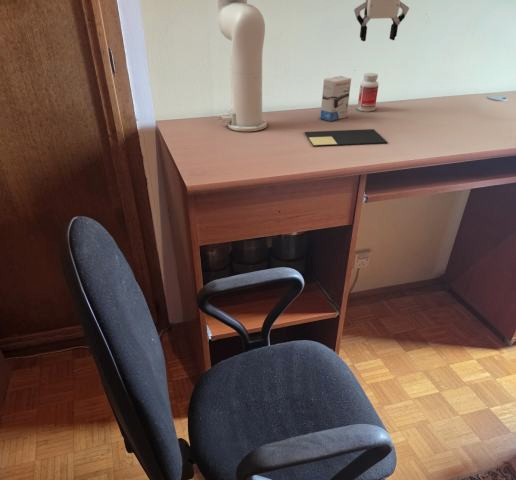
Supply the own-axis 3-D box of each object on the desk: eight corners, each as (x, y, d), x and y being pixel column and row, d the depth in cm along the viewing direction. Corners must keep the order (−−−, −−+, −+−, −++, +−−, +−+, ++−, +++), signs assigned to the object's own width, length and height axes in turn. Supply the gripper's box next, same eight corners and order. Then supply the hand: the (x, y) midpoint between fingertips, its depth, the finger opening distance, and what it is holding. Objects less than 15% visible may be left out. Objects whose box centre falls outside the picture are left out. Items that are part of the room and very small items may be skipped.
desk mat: (313, 146, 130) (313, 144, 129) (304, 133, 139) (304, 131, 139) (387, 143, 131) (387, 141, 131) (373, 130, 141) (373, 128, 141)
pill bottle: (378, 110, 159) (384, 74, 152) (365, 112, 157) (370, 76, 149) (366, 106, 163) (371, 71, 156) (353, 109, 161) (358, 73, 153)
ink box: (330, 121, 149) (334, 81, 141) (319, 118, 151) (322, 78, 144) (347, 117, 153) (352, 77, 145) (336, 114, 156) (340, 75, 148)
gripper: (410, -30, 138) (399, 37, 149) (355, -28, 137) (348, 39, 148) (419, -29, 132) (407, 41, 144) (362, -28, 131) (354, 42, 142)
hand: (377, 40), depth 146 cm, fingers open, 9 cm apart
